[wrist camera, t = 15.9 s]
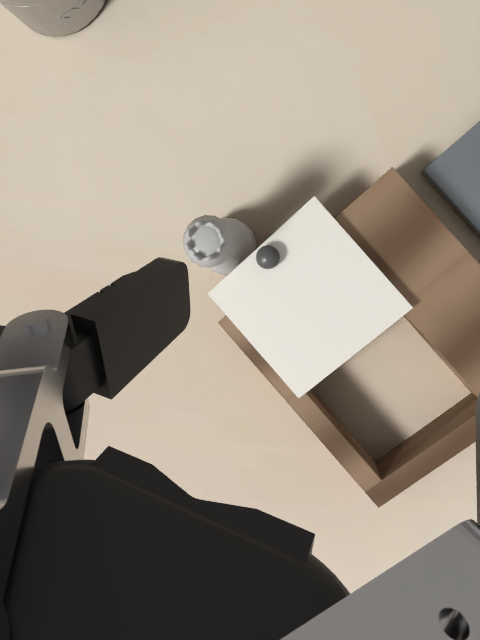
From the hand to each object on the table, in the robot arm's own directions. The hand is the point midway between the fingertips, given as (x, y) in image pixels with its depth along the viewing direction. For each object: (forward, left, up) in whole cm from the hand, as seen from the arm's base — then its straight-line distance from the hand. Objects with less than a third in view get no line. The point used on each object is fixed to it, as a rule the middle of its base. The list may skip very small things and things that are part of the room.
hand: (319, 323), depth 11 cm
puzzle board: (+6, +1, -22) cm, 23 cm away
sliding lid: (0, -1, -19) cm, 19 cm away
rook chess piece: (-7, -3, -22) cm, 24 cm away
